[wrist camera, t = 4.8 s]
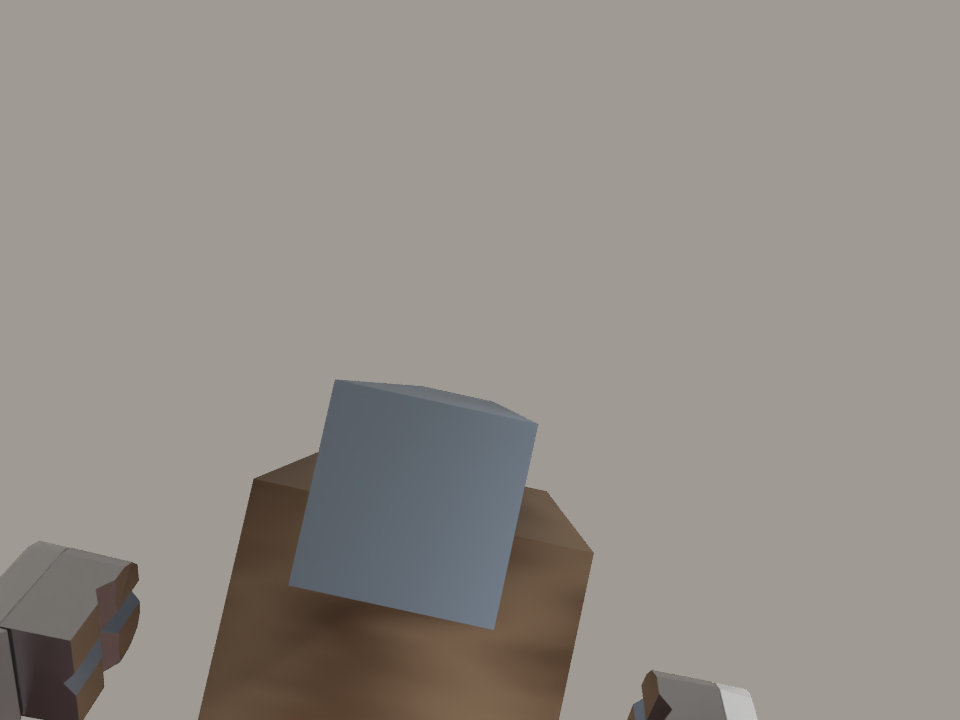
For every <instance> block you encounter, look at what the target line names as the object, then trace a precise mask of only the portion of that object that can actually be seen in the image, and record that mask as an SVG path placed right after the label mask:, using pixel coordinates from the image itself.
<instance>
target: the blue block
mask: <svg viewBox="0 0 960 720" xmlns="http://www.w3.org/2000/svg"><path fill="white" fill-rule="evenodd" d="M537 427H538V424H537V423H535V422H533V421H531V420H529V419H527V418H525V417H523V416H520V415H519V414H517V413H515V412H513V411H511V410H508V409H506V408H504V407H502V406H500V405H498V404H496V403H494V402H492V401H487V400H483V399H478V398H474V397H469V396H464V395H460V394H455V393H451V392H446V391H442V390H437V389H433V388H428V387H423V386H411V385H399V384H398V385H397V384H386V383H373V382H360V381H347V380H335V382H334V387H333V391H332V396H331V400H330V404H329V409H328V413H327V417H326V422H325V426H324V430H323V435H322V439H321V444H320V448H319V452H318V457H317V461H316V466H315V470H314V474H313V479H312V483H311V488H310V492H309V496H308V501H307V505H306V510H305V514H304V518H303V523H302V527H301V532H300V536H299V540H298V545H297V549H296V553H295V558H294V562H293V567H292V571H291V575H290V580H289V584H288V585H289V586H294V587H298V588H303V589H308V590H312V591H317V592H321V593H326V594H331V595H335V596H340V597H344V598H349V599H354V600H358V601H363V602H367V603H372V604H377V605H381V606H386V607H390V608H395V609H400V610H404V611H409V612H413V613H418V614H423V615H427V616H432V617H436V618H441V619H446V620H450V621H455V622H459V623H464V624H469V625H473V626H478V627H482V628H487V629H492V630H494V627H495V623H496V618H497V613H498V609H499V604H500V599H501V595H502V590H503V586H504V581H505V576H506V572H507V567H508V562H509V558H510V553H511V548H512V544H513V539H514V534H515V530H516V525H517V520H518V516H519V511H520V506H521V502H522V497H523V493H524V488H525V483H526V479H527V474H528V469H529V464H530V460H531V455H532V451H533V446H534V441H535V436H536V432H537Z"/></svg>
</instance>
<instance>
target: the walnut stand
mask: <svg viewBox="0 0 960 720" xmlns="http://www.w3.org/2000/svg"><path fill="white" fill-rule="evenodd" d="M317 457H318V453H315V454H313V455H310V456H308V457H305V458H303V459H301V460H298V461H296V462H293V463H291V464H288V465H286V466H284V467H281V468H279V469H276V470H274V471H271V472H269V473H267V474H264V475H262V476H259V477H257V478H255V479H254V480H253V484H252V488H251V493H250V497H249V502H248V506H247V510H246V515H245V519H244V523H243V528H242V532H241V536H240V540H239V545H238V549H237V553H236V558H235V562H234V566H233V571H232V575H231V580H230V584H229V588H228V592H227V597H226V601H225V606H224V610H223V614H222V618H221V623H220V627H219V632H218V636H217V640H216V644H215V649H214V653H213V657H212V662H211V666H210V670H209V675H208V679H207V683H206V688H205V692H204V696H203V701H202V705H201V709H200V714H199V718H198V720H559V716H560V711H561V706H562V702H563V697H564V692H565V687H566V682H567V677H568V673H569V668H570V663H571V659H572V654H573V649H574V644H575V639H576V635H577V630H578V625H579V620H580V616H581V611H582V606H583V602H584V596H585V592H586V587H587V582H588V578H589V573H590V568H591V564H592V559H593V554H594V553H593V551H592V550H591V549H590V548H589V546H588V545H587V544H586V542H585V541H584V540H583V538H582V537H581V536H580V535H579V533H578V532H577V531H576V529H575V528H574V527H573V525H572V524H571V523H570V521H569V520H568V519H567V517H566V516H565V515H564V514H563V512H562V511H561V510H560V509H559V507H558V506H557V504H556V503H555V502H554V500H553V499H552V498H551V497H550V495H549V494H548V493H547V491H542V490H538V489H533V488H528V487H525V488H524V493H523V497H522V502H521V506H520V511H519V516H518V520H517V525H516V530H515V534H514V539H513V544H512V548H511V553H510V558H509V562H508V567H507V572H506V576H505V581H504V586H503V590H502V595H501V599H500V604H499V609H498V613H497V618H496V623H495V627H494V630H492V629H487V628H482V627H478V626H473V625H469V624H464V623H459V622H455V621H450V620H446V619H441V618H436V617H432V616H427V615H423V614H418V613H413V612H409V611H404V610H400V609H395V608H390V607H386V606H381V605H377V604H372V603H367V602H363V601H358V600H354V599H349V598H344V597H340V596H335V595H331V594H326V593H321V592H317V591H312V590H308V589H303V588H298V587H294V586H289V585H288V584H289V580H290V575H291V571H292V567H293V562H294V558H295V553H296V549H297V545H298V540H299V536H300V532H301V527H302V523H303V518H304V514H305V510H306V505H307V501H308V496H309V492H310V488H311V483H312V479H313V474H314V470H315V466H316V461H317Z"/></svg>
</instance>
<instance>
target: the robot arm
mask: <svg viewBox="0 0 960 720" xmlns="http://www.w3.org/2000/svg"><path fill="white" fill-rule="evenodd" d="M138 581H139V577H138V566H137V564H135V563H133V562H129V561H125V560H120V559H116V558H112V557H108V556H104V555H99V554H95V553H91V552H87V551H83V550H78V549H74V548H68V547H64V546H59V545H55V544H51V543H46V542H42V541H39V542H36V543H34V544H32V545H31V546H29V547H28V548H27V549H26V550H25V551H24V552H23V553H22V554H21V555H20V556H19V557H18V558H17V559H16V560H15V561H14V563H13V564H12V565H11V566H10V567H9V568H8V569H7V570H6V571H5V572H4V573H3V574H2V576H1V577H0V720H20V719H21V716H26V717H31V718H37V719H43V720H83V719H84V718H85V716H86V715H87V713H88V712H89V710H90V708H91V707H92V705H93V704H94V702H95V701H96V699H97V697H98V696H99V694H100V693H101V691H102V690H103V688H104V678H103V672H104V671H105V670H107V669H109V668H111V667H112V666H114V665H116V664H118V663H119V662H120V661H121V660H122V658H123V656H124V655H125V653H126V651H127V650H128V648H129V646H130V644H131V642H132V639H133V636H134V634H135V631H136V629H137V625H138V620H139V614H140V602H139V600H138V598H137V597H136V596H135V595H134V594H133V592H132V589H133V588H134V587H135V585H136V584H137V582H138ZM642 692H643V699H642V700H640V701H638V702H636V703H635V704H633V706H632V709H631V712H630V714H629V717H628V720H758V719H757V715H756V712H755V708H754V705H753V701H752V697H751V695H750V694H749V692H748V691H747V690H746V689H743V688H738V687H732V686H727V685H723V684H718V683H712V682H710V681H705V680H700V679H695V678H690V677H685V676H679V675H675V674H669V673H664V672H659V671H654V670H651V671H650V672H649V673H648V674H647V675H646V677H645V679H644V682H643V684H642Z"/></svg>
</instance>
